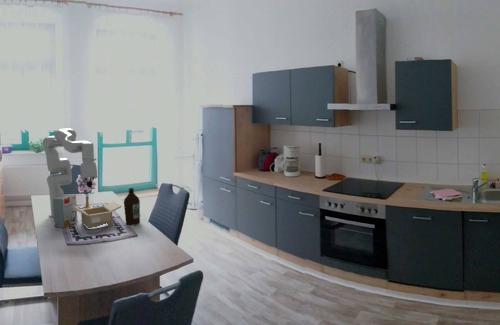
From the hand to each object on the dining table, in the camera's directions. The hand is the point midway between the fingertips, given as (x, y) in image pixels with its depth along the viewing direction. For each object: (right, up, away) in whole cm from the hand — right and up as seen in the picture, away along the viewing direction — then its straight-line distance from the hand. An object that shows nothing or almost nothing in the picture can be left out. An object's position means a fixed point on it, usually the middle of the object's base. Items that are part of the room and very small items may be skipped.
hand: (89, 187), depth 274 cm
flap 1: (-6, -15, -3) cm, 16 cm away
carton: (+3, -26, +5) cm, 27 cm away
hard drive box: (-19, -27, +7) cm, 33 cm away
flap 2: (+12, -14, +10) cm, 21 cm away
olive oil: (+27, -26, +8) cm, 39 cm away
